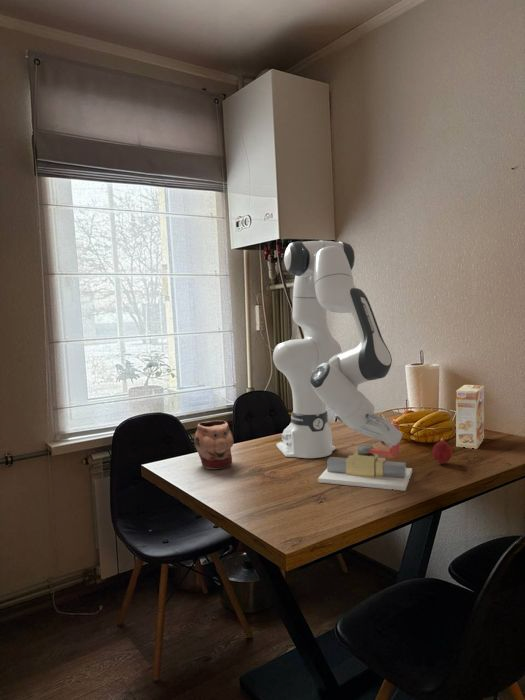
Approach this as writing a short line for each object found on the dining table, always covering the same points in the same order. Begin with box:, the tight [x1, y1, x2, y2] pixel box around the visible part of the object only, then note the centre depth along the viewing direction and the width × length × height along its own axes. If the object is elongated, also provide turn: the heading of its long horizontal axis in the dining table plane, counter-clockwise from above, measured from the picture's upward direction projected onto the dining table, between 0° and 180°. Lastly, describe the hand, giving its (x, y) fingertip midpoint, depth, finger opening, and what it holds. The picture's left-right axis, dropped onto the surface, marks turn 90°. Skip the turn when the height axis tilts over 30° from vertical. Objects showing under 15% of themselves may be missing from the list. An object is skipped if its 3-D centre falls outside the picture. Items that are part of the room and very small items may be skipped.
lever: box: [357, 423, 400, 459], centre depth 146 cm, size 13×4×9 cm, turn 46°
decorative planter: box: [193, 420, 235, 470], centre depth 168 cm, size 20×12×14 cm, turn 28°
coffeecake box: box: [455, 384, 485, 450], centre depth 181 cm, size 15×7×20 cm, turn 148°
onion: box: [431, 437, 453, 465], centre depth 159 cm, size 6×6×8 cm
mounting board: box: [317, 467, 413, 492], centre depth 150 cm, size 24×16×1 cm, turn 68°
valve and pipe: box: [326, 448, 407, 478], centre depth 150 cm, size 22×6×7 cm, turn 68°
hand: (388, 444), depth 142 cm, fingers closed
